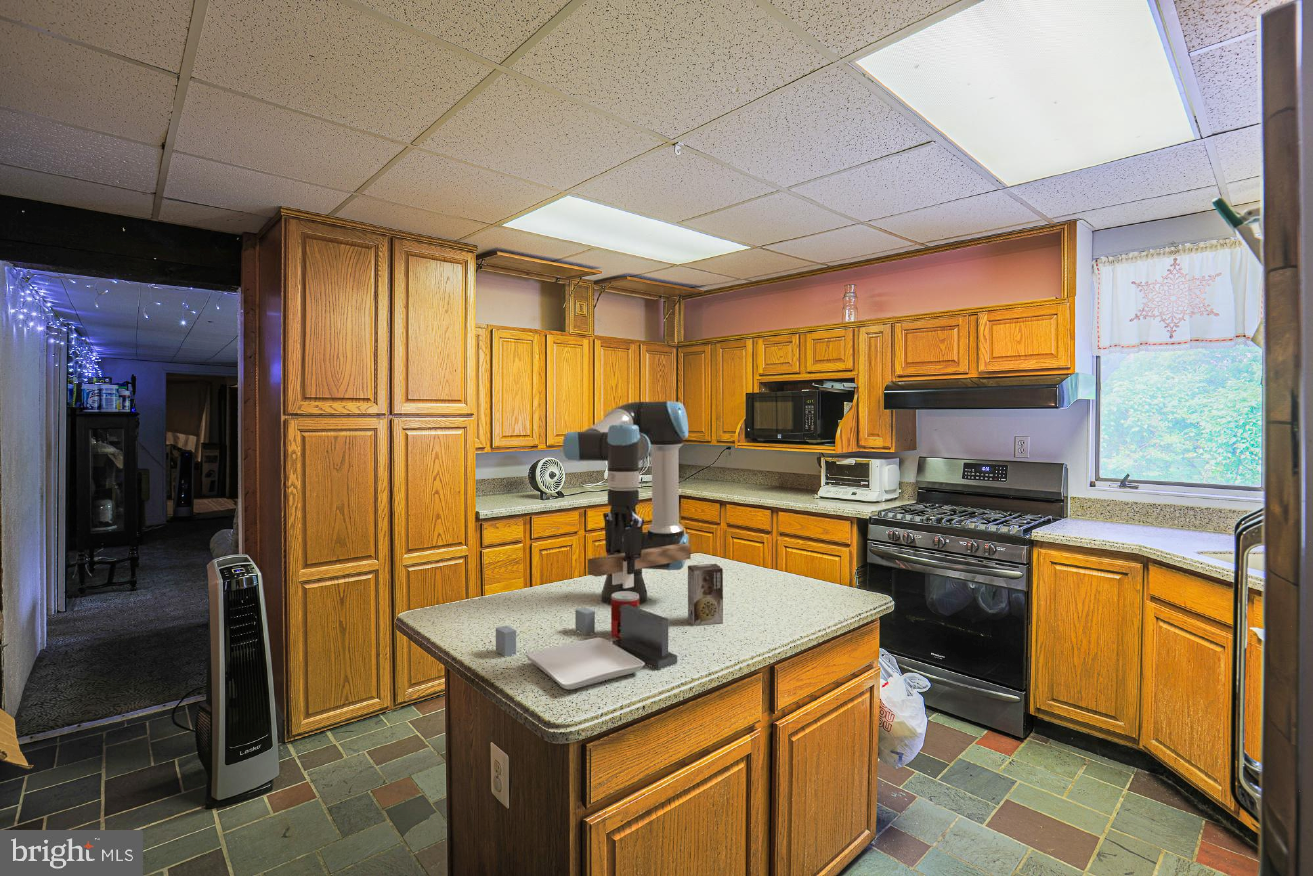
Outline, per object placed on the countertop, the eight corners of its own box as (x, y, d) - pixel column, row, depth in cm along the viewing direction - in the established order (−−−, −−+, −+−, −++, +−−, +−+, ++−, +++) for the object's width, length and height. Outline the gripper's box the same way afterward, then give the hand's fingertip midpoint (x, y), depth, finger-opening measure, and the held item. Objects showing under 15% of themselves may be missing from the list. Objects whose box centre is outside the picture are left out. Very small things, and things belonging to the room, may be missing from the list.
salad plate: (647, 676, 143) (647, 661, 143) (564, 700, 130) (564, 683, 130) (600, 648, 160) (600, 635, 160) (523, 667, 148) (523, 653, 148)
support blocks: (584, 628, 174) (584, 607, 174) (594, 633, 171) (594, 611, 171) (495, 651, 157) (495, 627, 157) (505, 657, 153) (505, 633, 153)
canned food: (618, 641, 164) (618, 600, 164) (606, 632, 171) (606, 593, 171) (644, 637, 168) (644, 596, 167) (631, 628, 175) (631, 589, 174)
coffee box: (716, 616, 186) (716, 563, 185) (723, 623, 179) (724, 568, 179) (686, 619, 183) (687, 564, 183) (693, 626, 177) (693, 569, 177)
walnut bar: (681, 556, 165) (681, 543, 165) (690, 558, 162) (690, 545, 162) (587, 573, 145) (587, 559, 145) (596, 576, 143) (596, 561, 142)
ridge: (630, 643, 163) (630, 601, 163) (677, 663, 149) (677, 618, 149) (612, 648, 159) (612, 606, 159) (658, 670, 145) (658, 623, 145)
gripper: (590, 486, 153) (590, 581, 154) (632, 492, 141) (632, 595, 141) (615, 484, 158) (614, 576, 159) (657, 490, 145) (657, 589, 146)
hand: (622, 585), depth 150 cm, fingers closed on walnut bar, 3 cm apart
